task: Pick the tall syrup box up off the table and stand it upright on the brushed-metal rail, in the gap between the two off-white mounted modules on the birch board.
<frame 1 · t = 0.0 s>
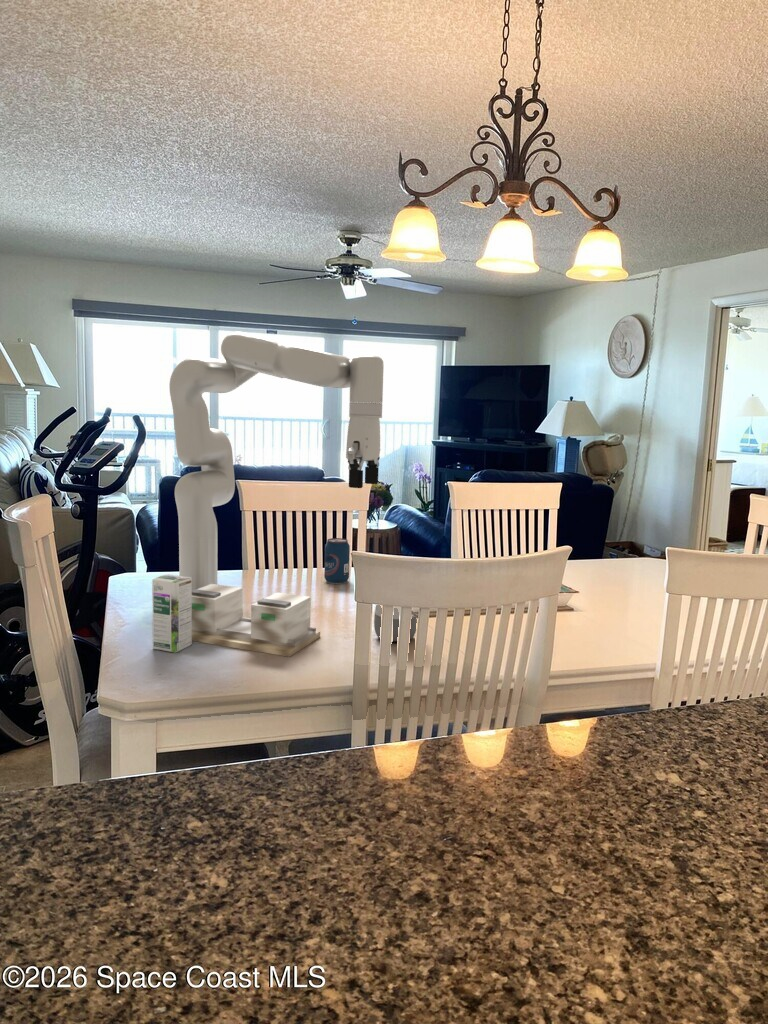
hand: (363, 485, 170), 31 cm above the table, tool pointing down, fingers open, 9 cm apart
smart speaker: (394, 639, 159), on the table
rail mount: (246, 637, 157), on the table
soda can: (336, 582, 208), on the table
syrup box: (172, 648, 149), on the table
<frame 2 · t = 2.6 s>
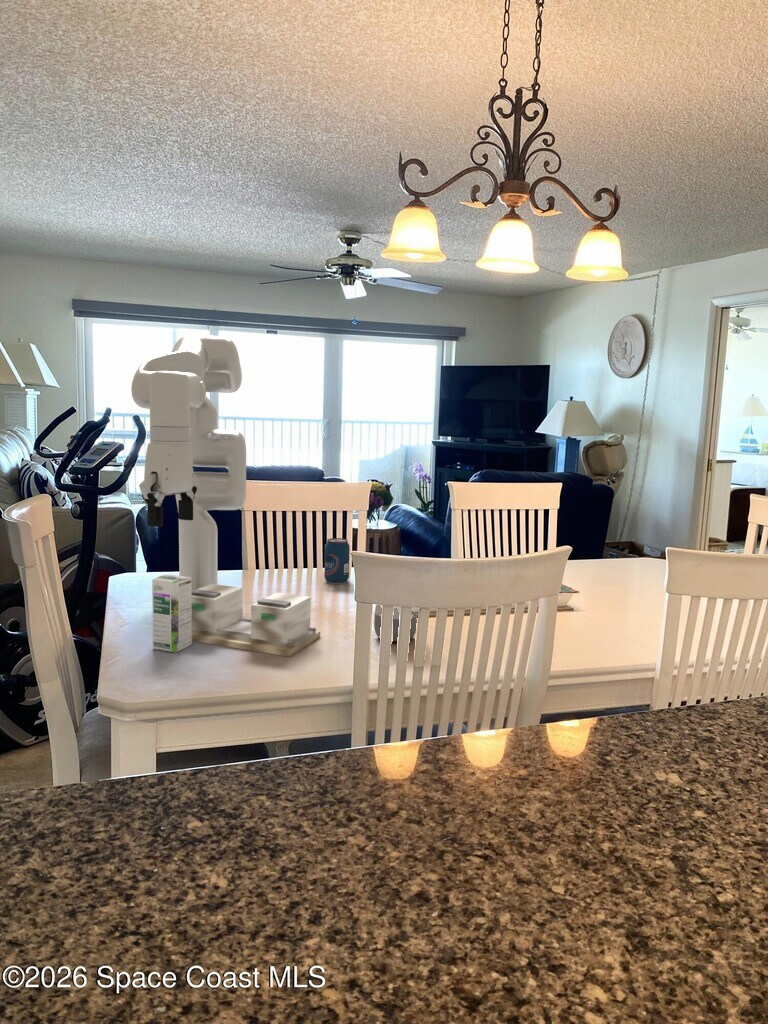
hand: (171, 523, 145), 26 cm above the table, tool pointing down, fingers open, 9 cm apart
nothing on the table moved.
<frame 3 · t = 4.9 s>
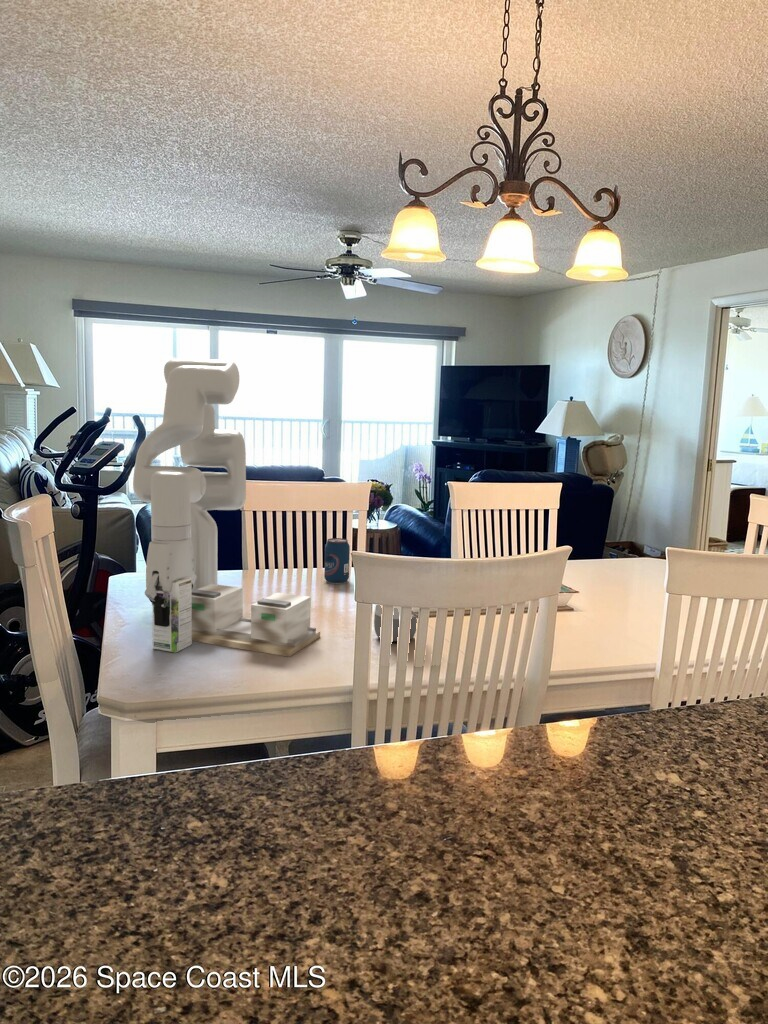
hand: (172, 620, 148), 6 cm above the table, tool pointing down, fingers closed on syrup box, 5 cm apart
syrup box: (172, 648, 149), on the table, touching gripper
everything else where it was.
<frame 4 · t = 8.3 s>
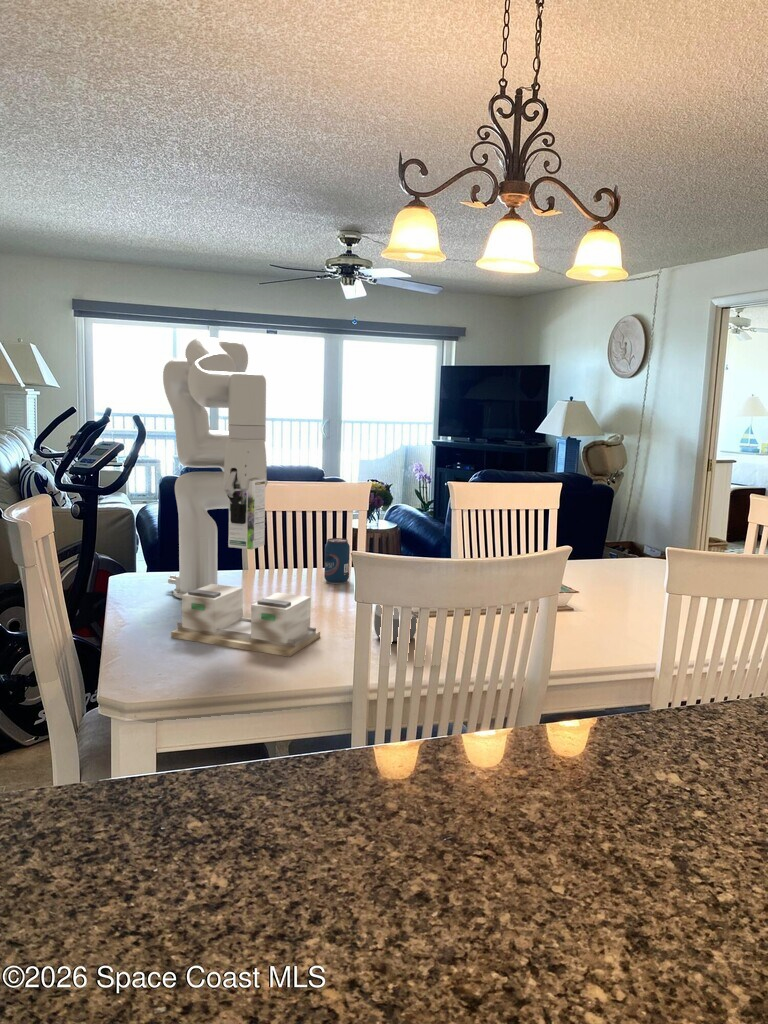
hand: (246, 520, 153), 25 cm above the table, tool pointing down, fingers closed on syrup box, 5 cm apart
syrup box: (246, 547, 154), point 19 cm above the table, touching gripper
everything else where it was.
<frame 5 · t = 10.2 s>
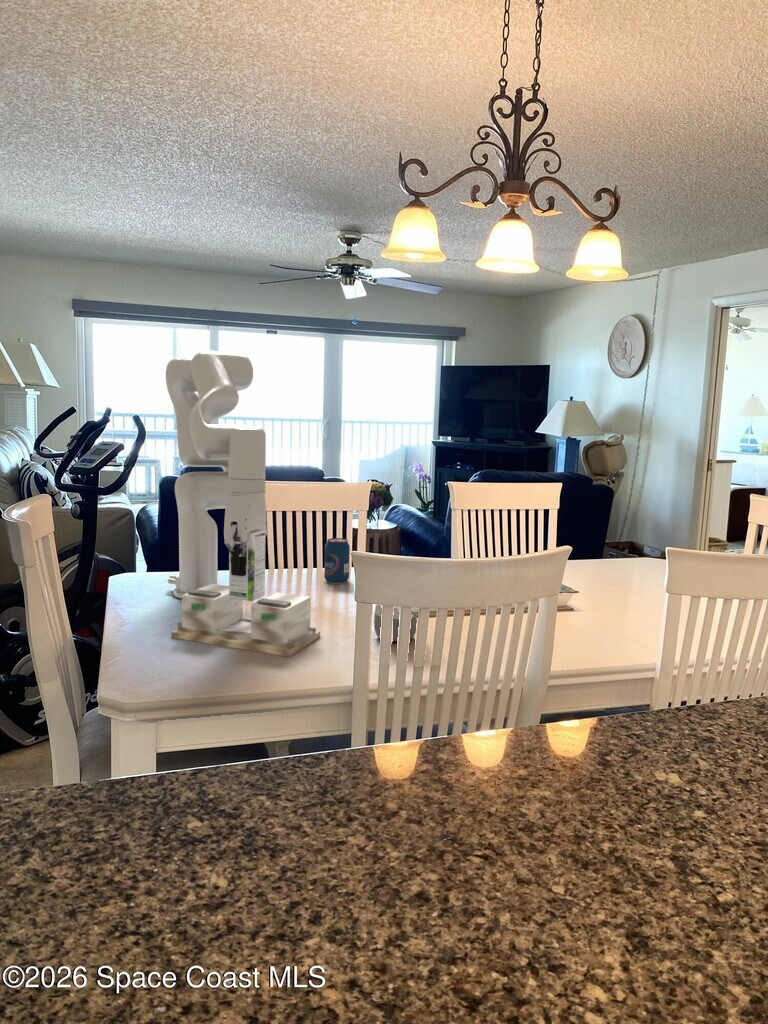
hand: (246, 571, 155), 14 cm above the table, tool pointing down, fingers closed on syrup box, 5 cm apart
syrup box: (247, 598, 156), point 9 cm above the table, touching gripper
everything else where it was.
when the fingers open (9 cm above the table, at t = 11.8 s): syrup box drops 1 cm, resting on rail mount.
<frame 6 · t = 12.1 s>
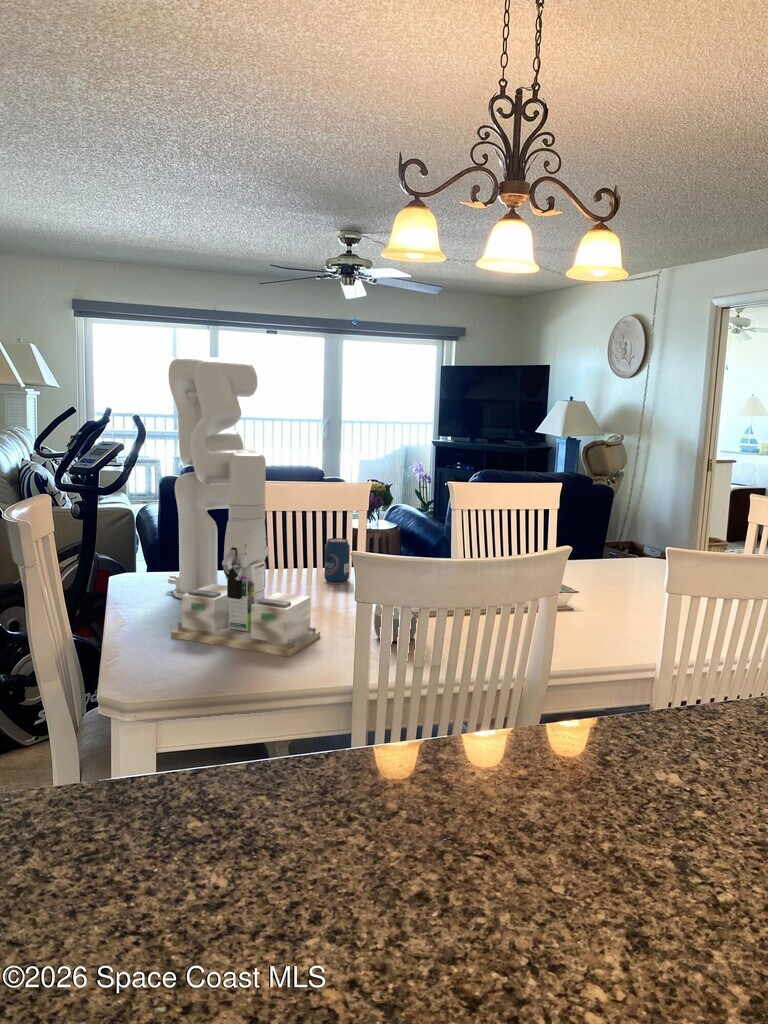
hand: (246, 592, 156), 10 cm above the table, tool pointing down, fingers open, 9 cm apart
syrup box: (246, 628, 157), point 2 cm above the table, touching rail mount
everything else where it was.
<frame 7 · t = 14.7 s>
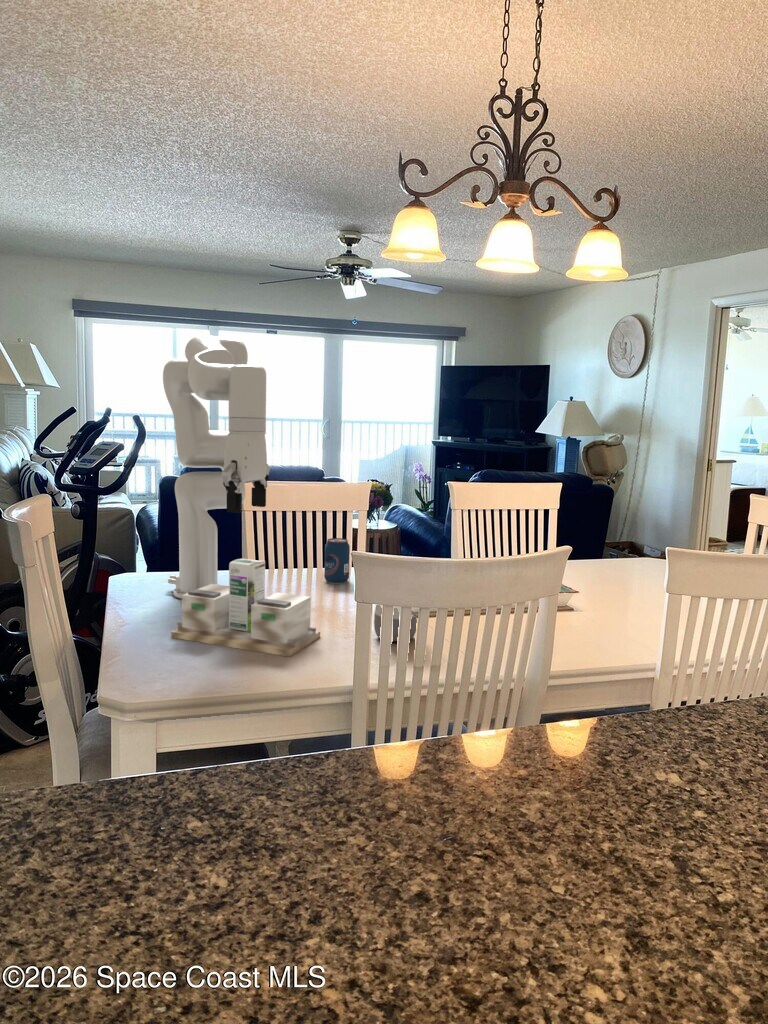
hand: (246, 509, 153), 28 cm above the table, tool pointing down, fingers open, 9 cm apart
nothing on the table moved.
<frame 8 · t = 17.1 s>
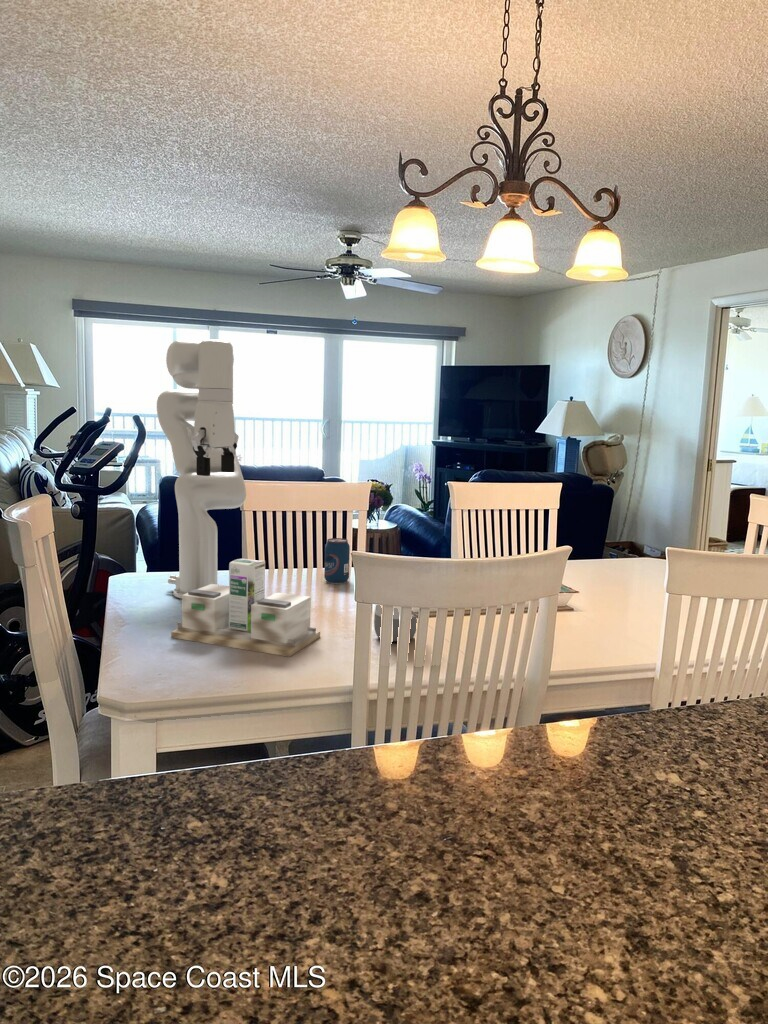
hand: (215, 473, 166), 33 cm above the table, tool pointing down, fingers open, 9 cm apart
nothing on the table moved.
at the end: syrup box 0.3 cm off-centre on the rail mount, point 1.8 cm above the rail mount's base; syrup box tilted 0°; the gripper is holding nothing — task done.
